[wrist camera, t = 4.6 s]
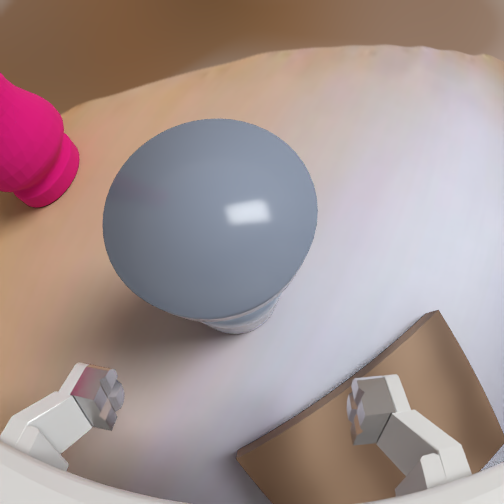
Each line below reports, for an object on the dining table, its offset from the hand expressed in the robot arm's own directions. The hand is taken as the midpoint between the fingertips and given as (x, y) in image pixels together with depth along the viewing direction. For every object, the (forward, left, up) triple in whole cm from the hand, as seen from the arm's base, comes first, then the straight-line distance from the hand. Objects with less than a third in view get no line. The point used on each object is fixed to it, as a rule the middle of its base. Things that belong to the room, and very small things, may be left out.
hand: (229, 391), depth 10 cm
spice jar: (-2, -4, -7) cm, 9 cm away
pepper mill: (+6, -20, -8) cm, 22 cm away
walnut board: (-4, +10, -7) cm, 13 cm away
